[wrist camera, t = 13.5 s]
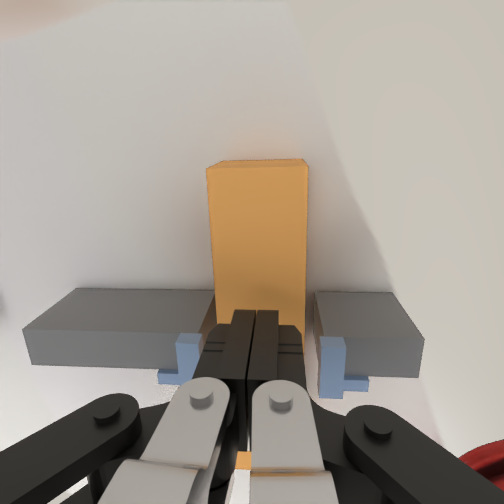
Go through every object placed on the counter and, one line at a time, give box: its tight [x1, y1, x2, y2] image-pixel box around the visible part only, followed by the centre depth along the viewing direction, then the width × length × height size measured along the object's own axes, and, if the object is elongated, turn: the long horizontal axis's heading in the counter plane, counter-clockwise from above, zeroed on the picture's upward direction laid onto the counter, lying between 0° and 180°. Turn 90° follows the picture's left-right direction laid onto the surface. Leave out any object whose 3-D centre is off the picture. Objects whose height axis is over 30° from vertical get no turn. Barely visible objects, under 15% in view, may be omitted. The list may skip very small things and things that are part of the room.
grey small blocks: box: [22, 288, 425, 399], centre depth 18 cm, size 28×3×5 cm, turn 91°
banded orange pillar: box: [206, 159, 308, 470], centre depth 18 cm, size 4×16×4 cm, turn 2°
